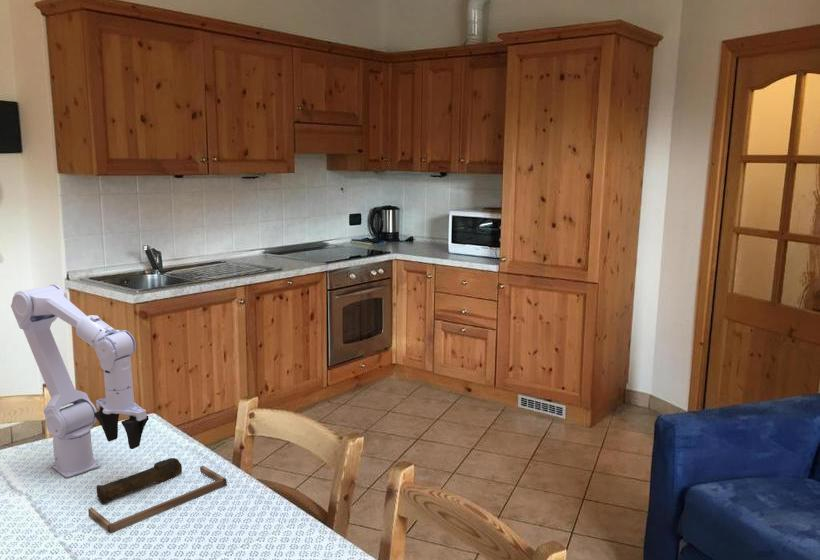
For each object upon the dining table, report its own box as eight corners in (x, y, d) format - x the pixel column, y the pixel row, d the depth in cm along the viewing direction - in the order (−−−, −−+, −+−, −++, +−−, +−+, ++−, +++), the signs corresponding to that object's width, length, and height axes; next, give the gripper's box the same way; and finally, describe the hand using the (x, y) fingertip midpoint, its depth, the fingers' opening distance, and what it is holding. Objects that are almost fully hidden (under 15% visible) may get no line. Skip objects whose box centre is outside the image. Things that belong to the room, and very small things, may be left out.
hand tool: (102, 507, 145) (101, 487, 144) (96, 500, 148) (94, 480, 147) (187, 478, 158) (185, 459, 157) (179, 472, 161) (178, 454, 160)
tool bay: (88, 515, 141) (88, 509, 141) (203, 471, 160) (203, 465, 160) (109, 533, 135) (109, 526, 134) (226, 485, 154) (226, 478, 154)
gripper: (81, 385, 151) (87, 443, 154) (125, 398, 144) (129, 457, 147) (109, 376, 157) (114, 431, 160) (152, 388, 150) (156, 445, 153)
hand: (123, 443), depth 154 cm, fingers open, 7 cm apart
